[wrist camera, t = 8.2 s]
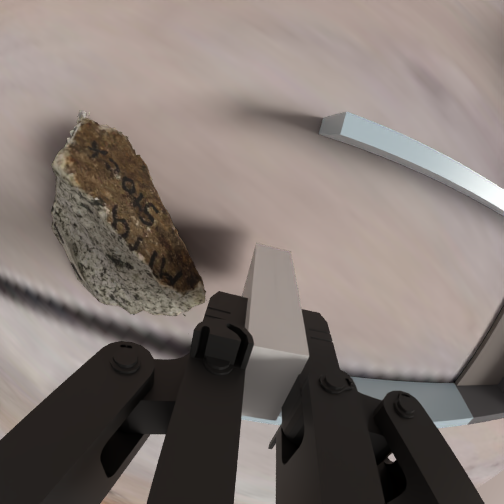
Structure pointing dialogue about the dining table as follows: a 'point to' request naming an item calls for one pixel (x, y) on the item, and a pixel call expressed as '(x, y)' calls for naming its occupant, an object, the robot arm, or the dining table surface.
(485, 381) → the grey open box
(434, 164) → the strips
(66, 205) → the rock sample
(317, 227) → the dining table surface
